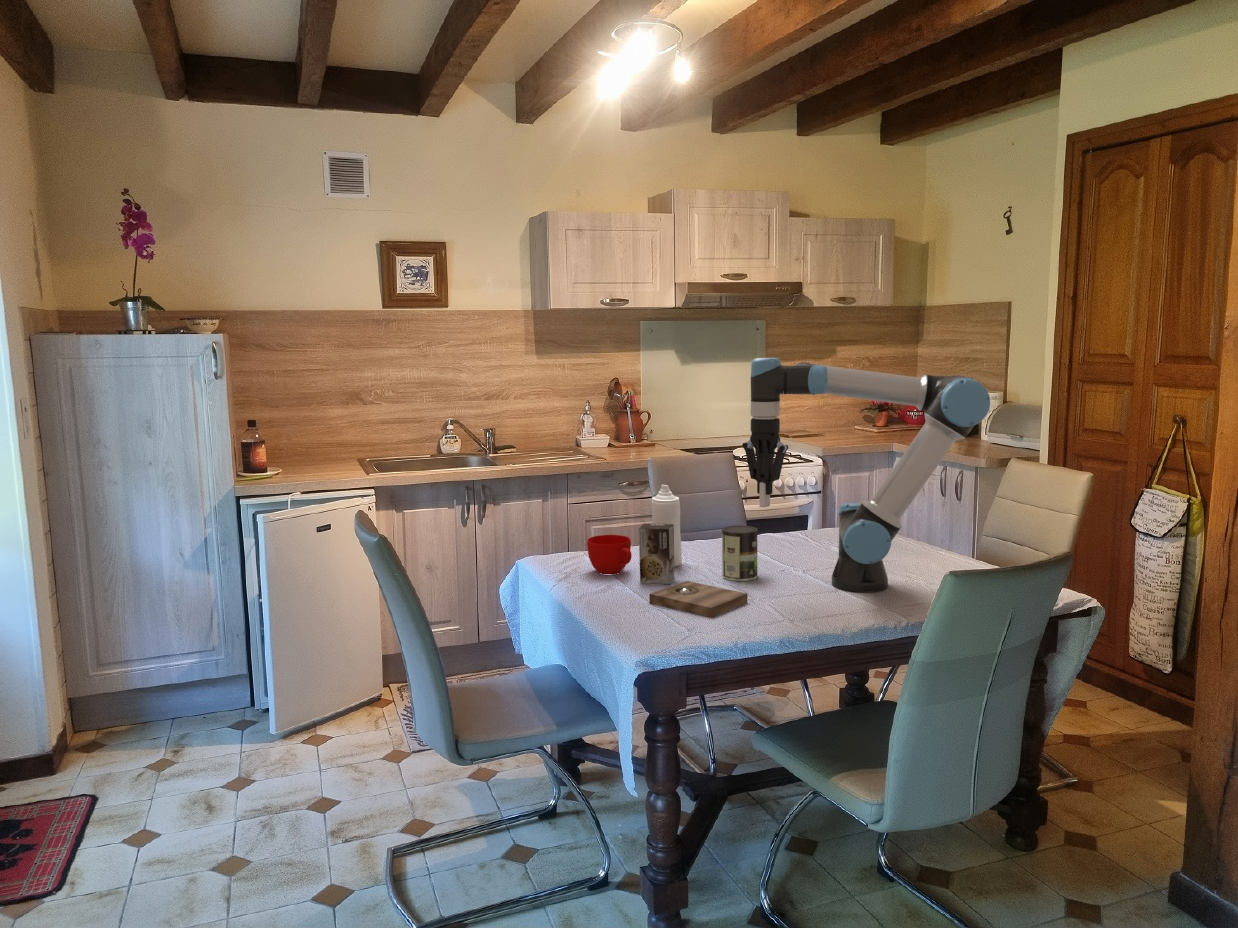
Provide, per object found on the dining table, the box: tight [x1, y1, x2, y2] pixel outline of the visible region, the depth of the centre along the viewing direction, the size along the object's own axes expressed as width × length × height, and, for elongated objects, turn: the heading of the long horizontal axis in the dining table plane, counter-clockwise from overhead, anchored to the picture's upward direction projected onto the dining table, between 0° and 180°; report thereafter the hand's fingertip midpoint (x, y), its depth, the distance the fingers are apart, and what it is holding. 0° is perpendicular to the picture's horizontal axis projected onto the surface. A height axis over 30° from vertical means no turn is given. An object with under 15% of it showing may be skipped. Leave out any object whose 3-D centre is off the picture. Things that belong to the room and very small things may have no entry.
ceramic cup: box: [586, 534, 633, 575], centre depth 276 cm, size 13×17×10 cm
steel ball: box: [679, 588, 690, 593], centre depth 249 cm, size 3×3×3 cm
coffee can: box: [721, 525, 759, 582], centre depth 270 cm, size 10×10×14 cm
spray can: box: [650, 484, 683, 567], centre depth 284 cm, size 12×11×25 cm
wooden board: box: [649, 580, 748, 618], centre depth 246 cm, size 20×16×2 cm
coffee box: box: [638, 522, 676, 585], centre depth 267 cm, size 9×6×16 cm
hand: (764, 506), depth 248 cm, fingers closed
